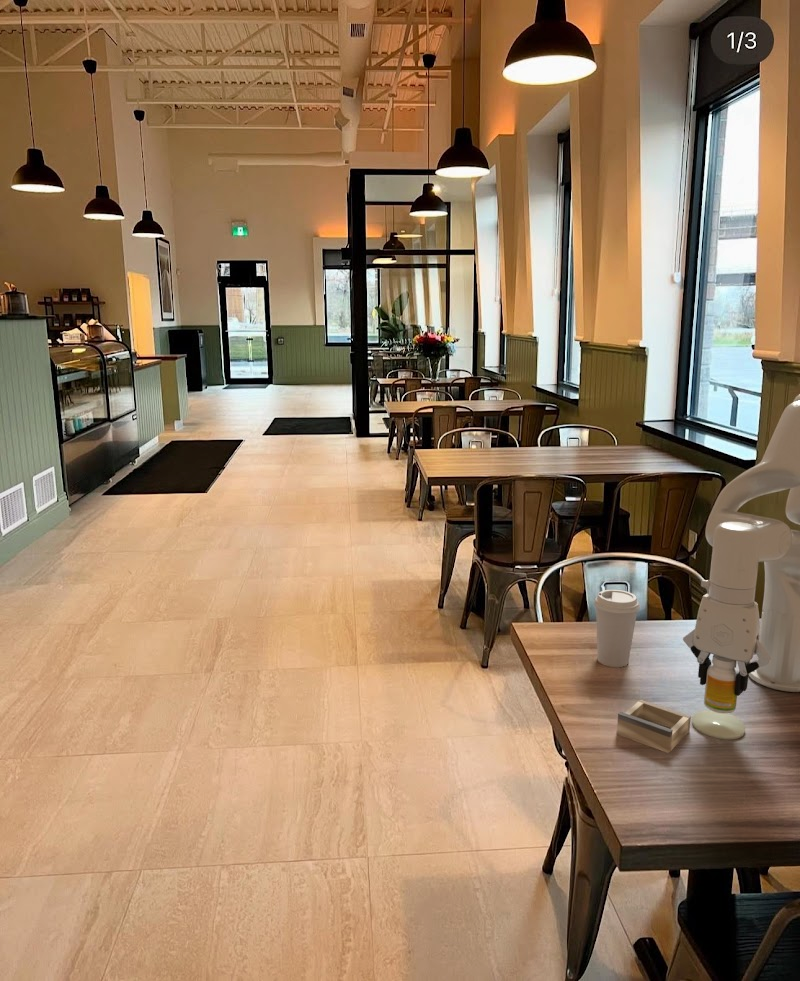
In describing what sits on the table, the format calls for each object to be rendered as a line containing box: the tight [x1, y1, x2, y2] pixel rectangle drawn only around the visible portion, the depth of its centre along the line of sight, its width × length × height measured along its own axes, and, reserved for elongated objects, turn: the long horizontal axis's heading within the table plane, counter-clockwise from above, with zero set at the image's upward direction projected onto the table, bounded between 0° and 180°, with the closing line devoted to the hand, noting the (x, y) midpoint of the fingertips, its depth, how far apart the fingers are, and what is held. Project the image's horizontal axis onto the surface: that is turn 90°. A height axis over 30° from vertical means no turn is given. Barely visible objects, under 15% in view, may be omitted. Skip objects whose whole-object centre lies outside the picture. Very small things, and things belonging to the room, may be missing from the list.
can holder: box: [616, 699, 692, 754], centre depth 137 cm, size 10×10×4 cm
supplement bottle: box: [703, 654, 739, 714], centre depth 138 cm, size 5×5×10 cm
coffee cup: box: [593, 589, 641, 668], centre depth 165 cm, size 10×10×15 cm
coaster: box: [691, 709, 746, 740], centre depth 140 cm, size 9×9×1 cm
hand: (721, 686), depth 138 cm, fingers closed on supplement bottle, 5 cm apart
